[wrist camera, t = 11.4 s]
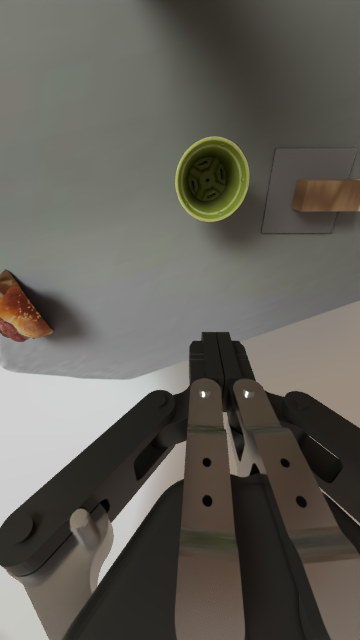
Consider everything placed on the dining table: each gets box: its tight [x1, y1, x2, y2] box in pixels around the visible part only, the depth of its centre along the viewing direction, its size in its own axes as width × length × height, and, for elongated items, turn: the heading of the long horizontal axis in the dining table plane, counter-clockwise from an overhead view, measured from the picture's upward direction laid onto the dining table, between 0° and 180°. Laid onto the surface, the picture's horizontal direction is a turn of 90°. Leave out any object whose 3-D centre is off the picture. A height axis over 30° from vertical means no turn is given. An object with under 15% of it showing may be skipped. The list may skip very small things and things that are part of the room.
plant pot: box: [175, 137, 249, 222], centre depth 34 cm, size 9×9×9 cm
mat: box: [261, 148, 358, 233], centre depth 39 cm, size 12×12×1 cm
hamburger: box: [0, 270, 53, 342], centre depth 46 cm, size 16×13×10 cm
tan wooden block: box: [291, 179, 360, 211], centre depth 37 cm, size 4×4×9 cm
